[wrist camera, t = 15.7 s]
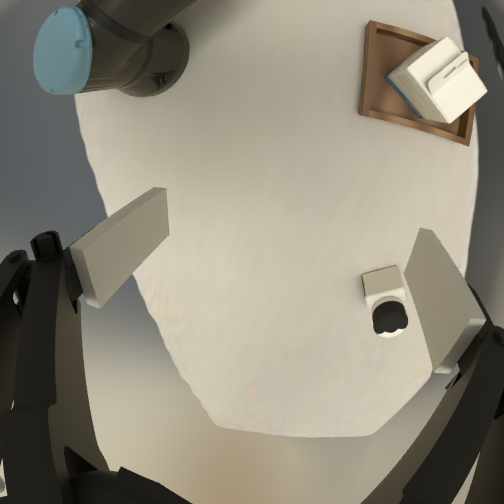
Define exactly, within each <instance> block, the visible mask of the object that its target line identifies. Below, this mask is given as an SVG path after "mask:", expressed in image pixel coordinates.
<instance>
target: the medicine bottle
mask: <svg viewBox="0 0 504 504" xmlns="http://www.w3.org/2000/svg"><path fill="white" fill-rule="evenodd" d="M362 281H363V287H364V294H365V300H366V304H367V309H368V313H369V318H370V323H371V325H373V328H374V331H375V333H376V334H378V335H379V336H382V337H394V336H397V335H399V334H400V333H402V332H403V331H404V330H405V328H406V327H407V324H408V317H407V305H406V296H405V288H404V285H403V282H402V279H401V276H400V273H399V270H398V268H397V266H393V267H389V268H385V269H381V270H378V271H374V272H370V273H366V274H363V275H362Z"/></svg>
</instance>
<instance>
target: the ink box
mask: <svg viewBox="0 0 504 504" xmlns="http://www.w3.org/2000/svg"><path fill="white" fill-rule="evenodd" d="M385 80H387V81H388V83H389V84H390V85H391V86H392V87H393V88H394V89H395V90H396V91H397V92H398V94H399V95H400V96H401V97H402V98H403V99H404V101H405V102H406V103H407V104H408V105H409V107H410V108H411V109H412V110H413V111H414V113H415V114H416V115H417V116H418V117H419V118H421V119H428V120H433V121H439V122H444V123H449V124H450V123H452V122H453V121H454V120H455V119H456V118H457V117H459V116H460V115H461V114H462V113H463V112H464V111H466V110H467V109H468V108H469V107H470V106H471V105H472V104H474V103H475V102H476V101H477V100H478V99H479V98H480V97H482V96H483V95H484V94H485V93H486V92H487V89H486V87H485V86H484V84H483V83H482V81H481V80H480V78H479V77H478V75H477V73H476V72H475V71H474V69H473V68H472V66H471V65H470V63H469V58H468V53H467V52H463V53H462V52H461V51H460V50H459V49H458V47H457V46H456V45H455V44H454V42H453V41H452V40H451V39H450V37H449V36H446V37H444V38H442V39H440V40H437V41H435V42H433V43H430V44H428V45H426V46H424V47H422V48H419V49H417V50H416V51H415V52H413V53H412V54H411V55H410V56H409V57H407V58H406V59H405V60H404V61H403V62H402V63H400V64H399V65H398V66H397V67H396V68H395V69H393V70H392V71H391V72H390V73H389V74H388V75H386V76H385Z"/></svg>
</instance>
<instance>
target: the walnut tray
mask: <svg viewBox="0 0 504 504" xmlns="http://www.w3.org/2000/svg"><path fill="white" fill-rule="evenodd" d="M435 41H437V40H434V39H432V38H429V37H426V36H423V35H420V34H417V33H414V32H411V31H408V30H405V29H402V28H398V27H395V26H391V25H387V24H383V23H379V22H375V21H371V20H370V21H369V22H368V24H367V25H366V30H365V49H364V63H363V75H362V86H361V96H360V105H359V113H358V114H360V115H363V116H368V117H372V118H377V119H381V120H385V121H389V122H393V123H397V124H401V125H405V126H408V127H412V128H415V129H419V130H422V131H425V132H428V133H432V134H435V135H438V136H441V137H444V138H447V139H450V140H452V141H455V142H458V143H461V144H463V145H466V146H469V144H470V139H471V133H472V126H473V120H474V112H475V104H476V102H475V103H474V104H472V105H471V106H470V107H469V108H468V109H467V110H466V111H464V112H463V113H462V114H461V115H460V116H459V117H457V118H456V119H455V120H454V121H453V122H452V123H450V124H449V123H444V122H439V121H433V120H428V119H421V118H419V117H418V116H417V115H416V114H415V113H414V111H413V110H412V109H411V108H410V107H409V105H408V104H407V103H406V102H405V101H404V99H403V98H402V97H401V96H400V95H399V94H398V92H397V91H396V90H395V89H394V88H393V87H392V86H391V85H390V84H389V83H388V81H387V80H385V76H386V75H388V74H389V73H390V72H391V71H392V70H393V69H395V68H396V67H397V66H398V65H399V64H400V63H402V62H403V61H404V60H405V59H406V58H407V57H409V56H410V55H411V54H412V53H413V52H415V51H416V50H417V49H419V48H422V47H424V46H426V45H428V44H430V43H433V42H435ZM460 51H461V50H460ZM461 52H462V53H463V51H461ZM468 58H469V63H470V65H471V66H472V68H473V69H474V71H475V72H476V73H477V75H478V58H476V57H474V56H472V55H470V54H468Z"/></svg>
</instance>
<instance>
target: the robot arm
mask: <svg viewBox="0 0 504 504" xmlns="http://www.w3.org/2000/svg"><path fill="white" fill-rule="evenodd" d="M196 1H197V0H81V1H80V2H79V3H78V4H77V5H76V6H74V5H68V6H65V7H62V8H60V9H59V10H56V11H54V12H53V13H52V14H51V15H50V16H49V17H48V18H47V19H46V21H45V22H44V24H43V25H42V27H41V29H40V31H39V33H38V36H37V39H36V42H35V48H34V59H33V65H34V72H35V76H36V78H37V81H38V83H39V84H40V86H41V87H42V88H43V89H44V90H45V91H47V92H48V93H51V94H55V95H56V94H57V95H59V94H72V95H74V94H77V93H83V92H90V91H98V90H106V89H115V88H116V89H118V90H120V91H122V92H124V93H126V94H128V95H131V96H137V97H145V96H153V95H157V94H160V93H162V92H164V91H165V90H167V89H168V88H170V87H171V86H172V85H173V84H174V83H175V82H176V81H177V80H178V79H179V77H180V76H181V75H182V73H183V71H184V69H185V67H186V64H187V61H188V57H189V43H188V39H187V36H186V34H185V32H184V31H183V30H182V28H181V27H180V26H178V25H177V24H176V23H174V22H172V20H173V19H174V18H176V17H177V16H178V15H179V14H181V13H182V12H183V11H184V10H186V9H187V8H188V7H189V6H191V5H192V4H193V3H195V2H196ZM168 235H169V223H168V209H167V192H166V188H157V187H154V188H152V189H150V190H149V191H147V192H146V193H144V194H143V195H141V196H140V197H138V198H136V199H135V200H133V201H132V202H130V203H129V204H127V205H126V206H124V207H123V208H122V209H120V210H119V211H117V212H116V213H114V214H113V215H111V216H110V217H109V218H107V219H106V220H104V221H103V222H101V223H100V224H99V225H97V226H96V227H94V228H92V229H91V230H90V231H88V232H87V233H86V234H84V235H83V236H81V238H79V239H77V240H76V241H75V242H74V243H72V244H71V245H70V246H68V247H67V248H66V249H64V250H63V249H62V245H61V242H60V238H59V234H58V232H56V231H47V232H43V233H41V234H39V235H37V236H36V237H35V238H33V239H32V240H31V242H30V243H31V247H32V249H33V253H34V256H35V259H36V260H29V259H28V256H27V253H26V251H25V250H15V251H14V252H11V253H10V254H9V255H7V256H6V258H5V259H4V260H3V261H2V263H1V264H0V465H1V460H2V458H3V467H4V477H5V483H4V481H3V479H2V478H1V477H0V492H3V491H4V488H5V484H6V490H7V496H4V497H0V504H192V503H190V502H188V501H187V500H185V499H184V498H182V497H180V496H179V495H177V494H175V493H174V492H172V491H170V490H169V489H167V488H166V487H164V486H163V485H161V484H160V483H157V482H155V481H153V480H150V479H147V478H145V477H143V476H140V475H138V474H136V473H134V472H132V471H130V470H127V469H125V468H123V467H121V468H120V469H119V471H118V472H115V471H110V470H109V468H108V465H107V463H106V460H105V458H104V456H103V455H102V453H101V452H100V449H99V447H98V444H97V441H96V437H95V432H94V427H93V422H92V417H91V411H90V406H89V400H88V394H87V386H86V378H85V370H84V360H83V349H82V334H81V305H80V301H79V299H78V297H79V296H80V295H81V294H82V293H83V294H84V296H85V299H86V302H87V304H89V305H91V306H95V307H97V308H101V307H102V306H103V305H104V304H105V303H106V302H107V300H108V299H109V298H110V297H111V296H112V295H113V294H114V293H115V291H116V290H117V289H118V288H119V287H120V286H121V285H122V284H123V283H124V281H125V280H126V279H127V278H128V277H129V276H130V275H131V274H132V273H133V272H134V271H135V270H136V269H137V267H138V266H139V265H140V264H141V263H142V262H143V261H144V260H145V259H146V258H147V257H148V256H149V255H150V254H151V253H152V252H153V251H154V250H155V249H156V248H157V247H158V246H159V245H160V244H161V242H162V241H163V240H164V239H165V238H166V237H167V236H168ZM404 275H405V278H406V281H407V284H408V286H409V289H410V292H411V295H412V298H413V301H414V304H415V307H416V310H417V313H418V316H419V319H420V323H421V326H422V329H423V333H424V336H425V340H426V343H427V347H428V351H429V355H430V359H431V363H432V367H433V371H434V373H450V371H451V370H452V369H453V367H454V366H455V365H456V364H457V363H458V366H459V369H460V371H459V372H458V373H457V374H456V376H455V377H454V378H453V379H452V380H451V382H450V383H449V384H448V385H447V386H446V387H445V388H446V389H448V390H447V392H446V393H445V395H444V397H443V398H442V400H441V402H440V404H439V405H438V407H437V408H436V410H435V412H434V413H433V415H432V416H431V418H430V419H429V421H428V422H427V424H426V426H425V427H424V428H423V430H422V431H421V433H420V434H419V436H418V437H417V438H416V440H415V441H414V442H413V444H412V445H411V447H410V448H409V449H408V450H407V452H406V453H405V454H404V456H403V457H402V458H401V460H400V461H399V462H398V463H397V464H396V466H395V467H394V468H393V469H392V470H391V471H390V473H389V474H388V475H387V476H386V477H385V478H384V480H383V481H382V482H381V483H380V484H379V485H378V486H377V487H376V488H375V489H374V490H373V492H371V494H370V495H369V496H368V497H367V498H366V499H365V500H364V501H363V502H362V503H361V504H451V503H452V502H453V500H454V498H455V497H456V495H457V494H458V492H459V490H460V488H461V487H462V485H463V483H464V481H465V480H466V478H467V476H468V474H469V472H470V470H471V468H472V466H473V465H474V463H475V461H476V458H477V456H478V454H479V452H480V454H479V458H478V462H477V466H476V470H475V473H474V476H473V480H472V483H471V486H470V489H469V493H468V495H467V498H466V501H465V503H464V504H504V329H503V328H501V327H499V326H494V325H493V323H492V321H491V319H490V317H489V315H488V313H487V311H486V309H485V308H484V307H483V304H482V302H481V301H480V298H479V297H478V295H477V293H476V291H475V290H474V289H473V288H472V287H471V286H470V285H469V284H468V283H466V281H465V280H464V278H463V276H462V275H461V273H460V271H459V270H458V268H457V267H456V265H455V263H454V262H453V260H452V259H451V257H450V256H449V254H448V252H447V251H446V249H445V248H444V246H443V245H442V244H441V242H440V241H439V239H438V238H437V236H436V235H435V233H434V232H433V231H432V230H428V229H424V228H420V229H419V232H418V235H417V238H416V241H415V244H414V247H413V250H412V253H411V256H410V258H409V261H408V264H407V267H406V269H405V272H404ZM14 292H15V295H16V297H17V299H18V303H17V304H15V303H14V301H13V294H14ZM13 399H14V405H13V408H12V404H13ZM11 408H12V410H11Z"/></svg>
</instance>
